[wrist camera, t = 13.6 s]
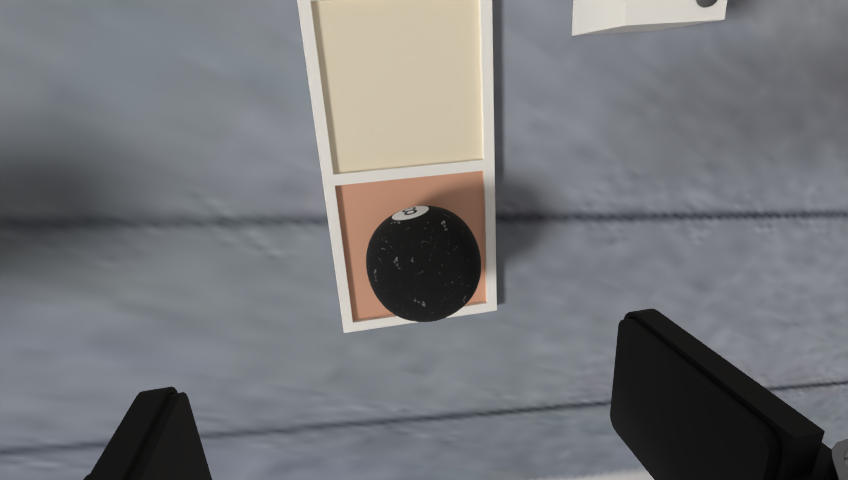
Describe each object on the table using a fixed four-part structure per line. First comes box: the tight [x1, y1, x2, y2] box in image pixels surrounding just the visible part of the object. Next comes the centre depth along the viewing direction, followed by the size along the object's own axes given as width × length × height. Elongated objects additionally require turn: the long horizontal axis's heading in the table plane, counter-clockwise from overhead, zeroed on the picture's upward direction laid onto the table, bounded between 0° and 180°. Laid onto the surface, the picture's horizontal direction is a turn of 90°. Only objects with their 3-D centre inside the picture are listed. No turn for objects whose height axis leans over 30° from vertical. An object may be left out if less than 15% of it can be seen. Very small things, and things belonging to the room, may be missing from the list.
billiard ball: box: [366, 206, 481, 322], centre depth 25 cm, size 6×6×6 cm
